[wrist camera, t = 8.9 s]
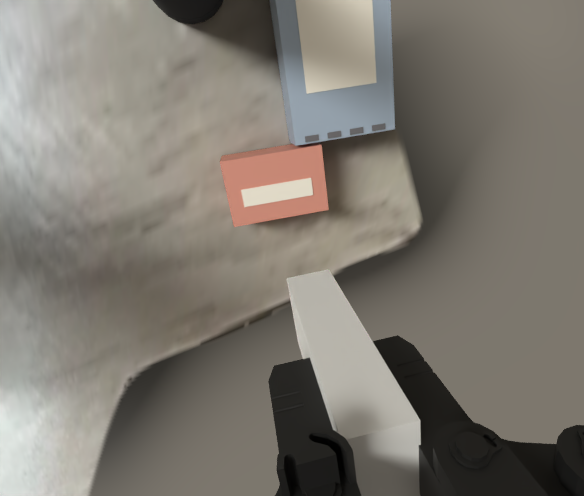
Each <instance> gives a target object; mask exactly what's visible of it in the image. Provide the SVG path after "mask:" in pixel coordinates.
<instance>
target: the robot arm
mask: <svg viewBox="0 0 584 496" xmlns="http://www.w3.org/2000/svg"><path fill="white" fill-rule="evenodd" d="M287 283H288V289H289V294H290V300H291V306H292V311H293V317H294V323H295V328H296V334H297V339H298V344H299V347H300V350H301V354H302V358H303V359H301V360H297V361H293V362H288V363H284V364H280V365H276V366H274V367H273V370H272V373H271V376H270V379H269V388H270V394H271V401H272V408H273V414H274V421H275V428H276V435H277V442H278V448H279V454H278V458H277V474H278V478H279V482H280V486H279V489H278V491H277V493H276V495H275V496H584V426H582V425H576V426H573V427H570V428H566V429H564V430H563V432H562V433H561V434H560V435H559V436H558V440H557V444H541V443H520V442H514V441H507V440H504V439H501V438H500V437H499V436H498V435H497V434H495V433H494V432H493V431H492V430H490V429H488V428H486V427H484V426H482V425H480V424H477V423H474V422H473V421H472V420H471V419H470V418H469V417H468V416H467V414H466V413H465V412H464V411H463V409H462V408H461V407H460V405H459V404H458V403H457V401H456V400H455V399H454V398H453V396H452V395H451V394H450V392H449V391H448V390H447V388H446V387H445V386H444V384H443V383H442V382H441V380H440V379H439V378H438V377H437V375H436V374H435V373H433V371H432V369H431V367H430V366H429V365H428V364H427V362H425V361H424V358H423V357H422V356H421V354H420V353H419V352H418V351H417V349H416V348H415V347H414V345H412V344H411V343H409V342H407V341H406V340H404V339H403V338H401V337H399V336H394V337H390V338H385V339H381V340H377V341H372V340H371V338H370V336H369V335H368V333H367V332H366V330H365V328H364V327H363V325H362V323H361V322H360V320H359V318H358V317H357V315H356V314H355V312H354V310H353V309H352V307H351V305H350V304H349V302H348V300H347V299H346V297H345V296H344V294H343V292H342V290H341V289H340V287H339V285H338V284H337V282H336V280H335V279H334V277H333V275H332V274H331V272H330V271H329V269H327V270H323V271H318V272H313V273H309V274H304V275H299V276H295V277H290V278H287Z"/></svg>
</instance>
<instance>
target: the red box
mask: <svg viewBox="0 0 584 496" xmlns="http://www.w3.org/2000/svg"><path fill="white" fill-rule="evenodd" d="M220 165H221V169H222V174H223V178H224V183H225V188H226V192H227V197H228V201H229V206H230V210H231V215H232V220H233V224H234V227H236V226H242V225H247V224H253V223H259V222H264V221H270V220H275V219H281V218H286V217H292V216H297V215H303V214H308V213H314V212H320V211H325V210H329V208H328V199H327V190H326V181H325V172H324V163H323V154H322V145H321V144H319V143H317V142H316V143H310V144H304V145H298V146H295V145H294V144H290V145H284V146H278V147H272V148H266V149H260V150H254V151H248V152H242V153H236V154H230V155H224V156H222V157H221V160H220Z"/></svg>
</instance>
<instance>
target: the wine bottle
mask: <svg viewBox="0 0 584 496" xmlns="http://www.w3.org/2000/svg"><path fill="white" fill-rule="evenodd" d="M153 1H154V2H155V3H156V5H157V6H158V7H159V8H160V9H161V10H162V11H163V12H164V13H165V14H166V15H168V16H169V17H171V18H173V19H175V20H177V21H179V22H182V23H188V24H195V23H200V22H204V21H206V20H207V19H209V18H210V17H212V16H213V15H214V14H215V13H216V12H217V10H218V9H219V8H220V6H221V5H222V2H223V0H153Z"/></svg>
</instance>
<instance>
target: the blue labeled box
mask: <svg viewBox="0 0 584 496" xmlns="http://www.w3.org/2000/svg"><path fill="white" fill-rule="evenodd" d="M269 2H270V9H271V16H272V23H273V30H274V37H275V44H276V51H277V58H278V65H279V72H280V79H281V86H282V93H283V100H284V107H285V114H286V121H287V127H288V134H289V141H290V142H291V143H293V144H294V145H295V146H298V145H304V144H310V143H316V142H322V141H328V140H334V139H340V138H345V137H351V136H357V135H363V134H369V133H375V132H381V131H387V130H393V129H395V113H394V86H393V85H394V84H393V58H392V57H393V55H392V27H391V0H269Z"/></svg>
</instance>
